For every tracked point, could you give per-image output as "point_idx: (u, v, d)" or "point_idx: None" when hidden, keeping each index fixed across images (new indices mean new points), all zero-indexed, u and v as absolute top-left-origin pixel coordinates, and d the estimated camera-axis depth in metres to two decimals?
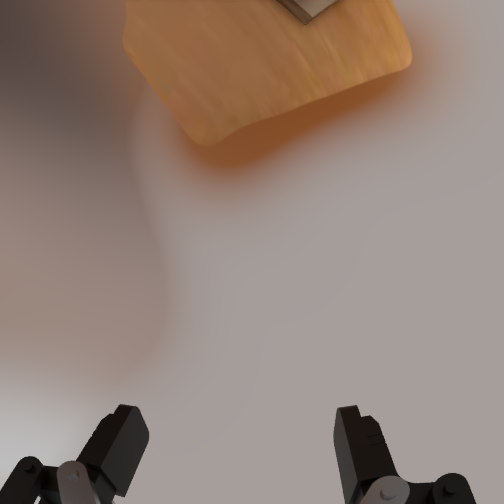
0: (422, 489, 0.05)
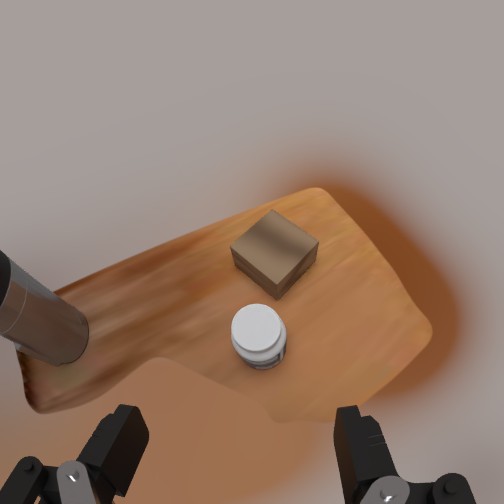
0: (422, 489, 0.05)
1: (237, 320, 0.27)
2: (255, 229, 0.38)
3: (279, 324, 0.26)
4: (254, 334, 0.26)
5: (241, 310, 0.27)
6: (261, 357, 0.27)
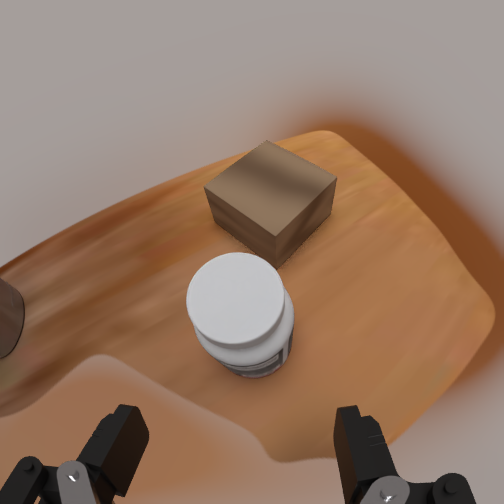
0: (422, 489, 0.05)
1: (198, 283, 0.14)
2: (242, 163, 0.25)
3: (281, 290, 0.13)
4: (231, 309, 0.13)
5: (207, 265, 0.14)
6: (247, 357, 0.14)
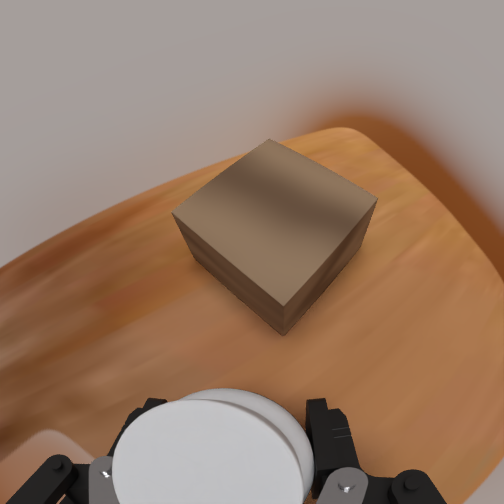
0: (384, 483, 0.06)
1: (130, 454, 0.05)
2: (232, 174, 0.16)
3: (297, 487, 0.05)
4: None
5: (143, 420, 0.06)
6: None
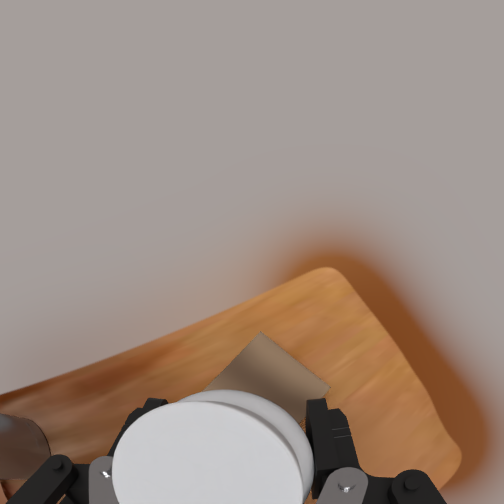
0: (383, 483, 0.06)
1: (129, 456, 0.05)
2: (235, 367, 0.24)
3: (297, 489, 0.05)
4: None
5: (143, 421, 0.06)
6: None
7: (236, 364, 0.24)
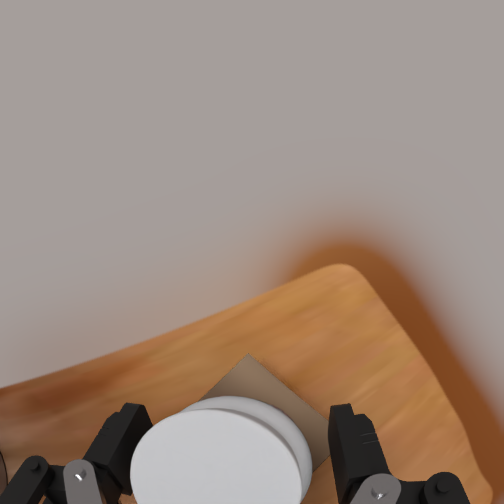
0: (414, 487, 0.05)
1: (147, 459, 0.06)
2: None
3: (296, 486, 0.05)
4: None
5: (159, 428, 0.06)
6: None
7: None
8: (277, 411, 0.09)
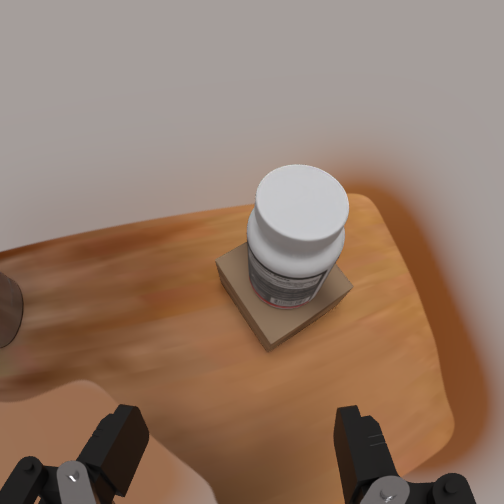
0: (422, 489, 0.05)
1: (271, 181, 0.14)
2: None
3: (346, 205, 0.14)
4: (299, 209, 0.14)
5: (281, 168, 0.15)
6: (296, 265, 0.15)
7: None
8: None
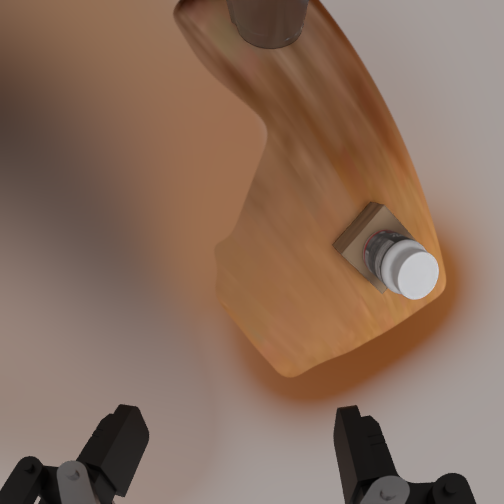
0: (422, 489, 0.05)
1: (426, 257, 0.23)
2: (401, 231, 0.32)
3: (417, 297, 0.24)
4: (413, 275, 0.24)
5: (434, 260, 0.23)
6: (386, 274, 0.26)
7: (403, 232, 0.32)
8: None
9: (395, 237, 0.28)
